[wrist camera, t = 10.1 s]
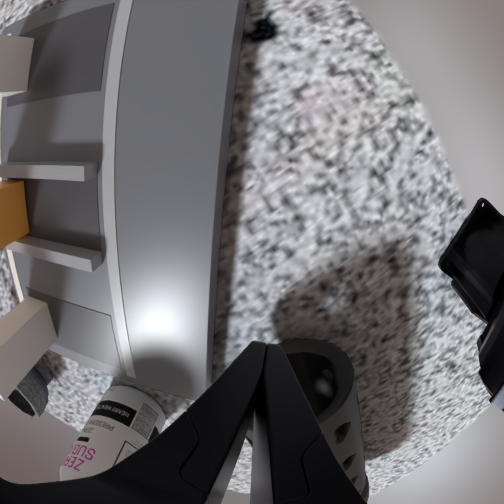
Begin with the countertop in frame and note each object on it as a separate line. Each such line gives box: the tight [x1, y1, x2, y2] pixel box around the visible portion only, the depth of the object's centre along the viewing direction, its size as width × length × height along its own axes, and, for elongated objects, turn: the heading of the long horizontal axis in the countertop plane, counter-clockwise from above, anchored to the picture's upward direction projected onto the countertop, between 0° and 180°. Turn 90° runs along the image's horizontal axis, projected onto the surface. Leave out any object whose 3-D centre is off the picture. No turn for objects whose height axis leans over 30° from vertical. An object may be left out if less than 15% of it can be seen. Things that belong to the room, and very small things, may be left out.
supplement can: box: [60, 385, 166, 481], centre depth 25 cm, size 8×8×15 cm
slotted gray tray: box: [0, 0, 248, 401], centre depth 16 cm, size 22×34×12 cm, turn 173°
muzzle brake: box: [245, 337, 369, 503], centre depth 24 cm, size 10×28×10 cm, turn 18°
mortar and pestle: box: [7, 359, 53, 420], centre depth 28 cm, size 11×9×12 cm
